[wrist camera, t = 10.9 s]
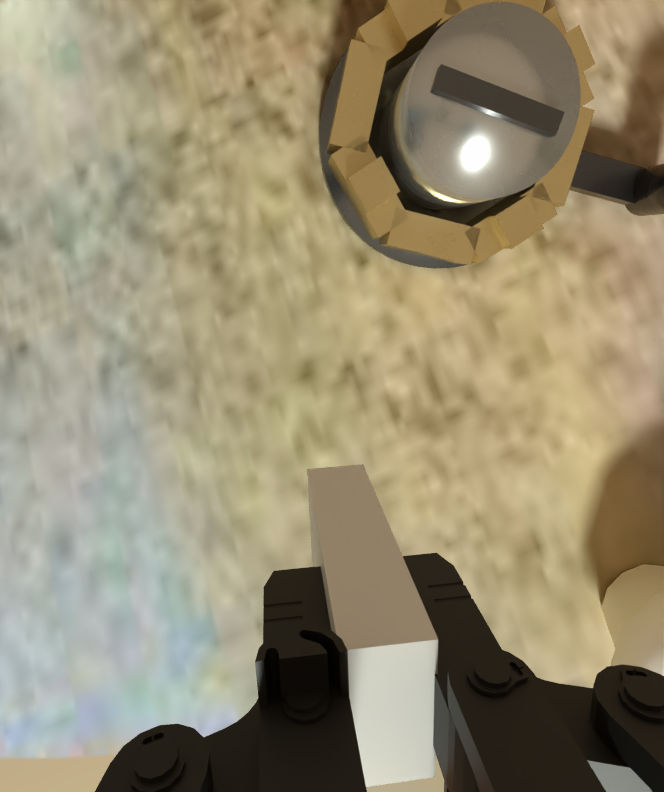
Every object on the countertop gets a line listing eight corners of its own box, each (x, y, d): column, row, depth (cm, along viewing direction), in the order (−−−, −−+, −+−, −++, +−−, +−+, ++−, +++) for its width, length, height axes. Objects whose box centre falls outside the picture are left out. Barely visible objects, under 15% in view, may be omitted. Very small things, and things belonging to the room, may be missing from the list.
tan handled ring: (309, 228, 32) (315, 222, 26) (363, -29, 29) (384, -106, 23) (626, 304, 35) (700, 317, 29) (707, 79, 32) (812, 36, 25)
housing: (289, 226, 33) (289, 217, 24) (363, -42, 30) (396, -171, 21) (506, 296, 36) (581, 313, 26) (598, 55, 32) (722, -23, 23)
